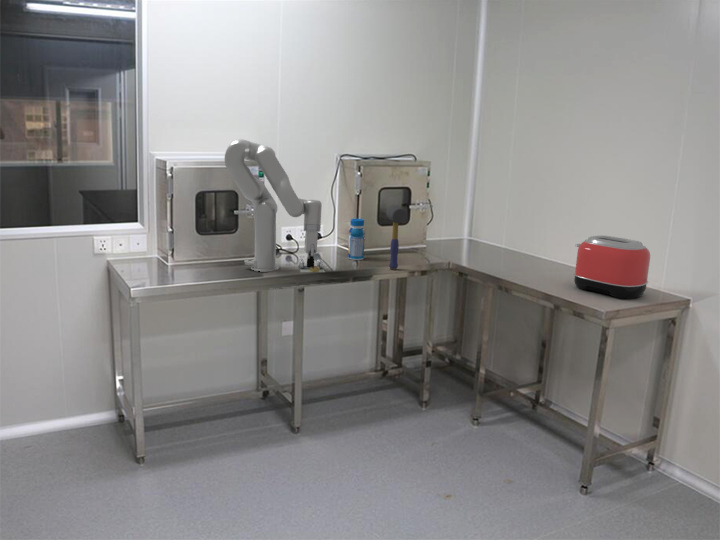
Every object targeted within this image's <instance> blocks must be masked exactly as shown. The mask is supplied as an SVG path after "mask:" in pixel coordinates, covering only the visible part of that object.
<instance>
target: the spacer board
mask: <svg viewBox="0 0 720 540" xmlns="http://www.w3.org/2000/svg"><path fill="white" fill-rule="evenodd" d="M298 269H299V271H300V273H312V272H311V271H310V267H307V265H304V269H300V266H299V265H298ZM325 272H326V271H325V269H324V268H323V269H320V271H319V272H318V273H325Z"/></svg>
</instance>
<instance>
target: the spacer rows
mask: <svg viewBox="0 0 720 540" xmlns="http://www.w3.org/2000/svg"><path fill="white" fill-rule="evenodd" d="M316 263H317V265H316V266H318V267H320V269H324V266H323V265H324V262H323V260H322V259H319V258H318V259H317V261H316ZM299 266H300V269H304V266H305V262H304V260H303V259H302V258H299V260H298V267H299ZM300 269H299V270H300Z"/></svg>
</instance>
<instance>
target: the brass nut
mask: <svg viewBox="0 0 720 540" xmlns="http://www.w3.org/2000/svg"><path fill="white" fill-rule="evenodd" d="M310 271H311V272H310V273H320V272H319V271H320V267H318V266H317V265H314V266H311V267H310Z"/></svg>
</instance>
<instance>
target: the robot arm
mask: <svg viewBox="0 0 720 540" xmlns="http://www.w3.org/2000/svg"><path fill="white" fill-rule="evenodd" d="M245 160H246V161H249V162H253V163H256V164H257V165H258V167H259V168H260V169H261V171H262V173H263V175H264V176H265V178H266V179H267V180H268V183H269V185H270V186H271V188H272V189H273V191H274V193H275V194H276V196H277V198H278V200H279V201H280V203H281V204H282V206H283V208H284V209H285V211H286V212H287V214H288V215H289V216H290V217H292V218H299V217H301V216H302V215H304V217H303V231H305V235H304V252H305V253H306V254H307V257H306V266H307V267H311V266H315V254H317V250H318V240H319V239H318V235H319V233H318V232H321V225H322V224H321V222H322V202H321V201H320V200H318V199H302V198H299V197H298V195H297V194H296V192H295V190H294V189H293V186H292V185H291V181H290V178H289V175H288V174H287V172H286V171H285V169H284V167H283V166H282V165H281V163H280V161H279V159H278V158H277V156H276V152H275V150H274V149H273V148H272V147H270V146H268V145H263V144H260V143H257V142H253V141H249V140H247V139H241V138H240V139H236V140H234V141H233V140H232V141H231V143H230V144H229V145H227V149H226V151H225V153H224V164H225V167H226V169H227V172H228V173H229V175H230V176H231V178H232V180H233V181H234V183H235V184H236V186H237V188H238V189H239V191H240V193H241V194H242V196H243V197H244V198H245V200H248V201H250V203H251V204H252V206H253V207H254V213H253V217H254V218H253V220H254V258H253V259H251V260H245V259H244V265H247V266H251V268H250V269H251V270H252V271H253V270H254V271H253V272H258V271H260V273H268V272H274V271H278V270H280V266H279V265H277V263H276V262H277V258H276V256H277V213H278V204H277V202H276V200H275V199H274V197H273V196H272V194H271V193H270V191H269V190H268V188H267V187H266V185H265V184H264V182H263V181H262V180H260V179H259V178H256V177H255V175H254V174H253V172H252V171H251V169H250V168H249V166H248V165H247V163H246V161H245Z"/></svg>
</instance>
